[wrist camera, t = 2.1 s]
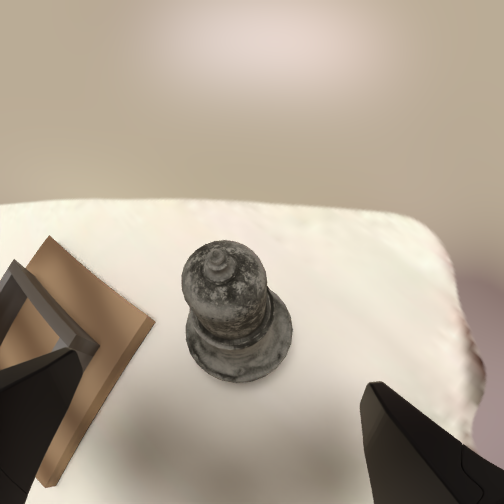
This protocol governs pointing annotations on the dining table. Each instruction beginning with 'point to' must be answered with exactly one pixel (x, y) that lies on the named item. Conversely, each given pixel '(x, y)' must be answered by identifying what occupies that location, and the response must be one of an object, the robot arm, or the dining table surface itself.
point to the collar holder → (68, 336)
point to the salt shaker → (233, 313)
